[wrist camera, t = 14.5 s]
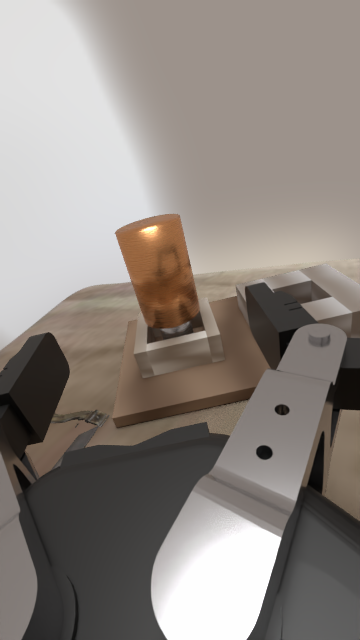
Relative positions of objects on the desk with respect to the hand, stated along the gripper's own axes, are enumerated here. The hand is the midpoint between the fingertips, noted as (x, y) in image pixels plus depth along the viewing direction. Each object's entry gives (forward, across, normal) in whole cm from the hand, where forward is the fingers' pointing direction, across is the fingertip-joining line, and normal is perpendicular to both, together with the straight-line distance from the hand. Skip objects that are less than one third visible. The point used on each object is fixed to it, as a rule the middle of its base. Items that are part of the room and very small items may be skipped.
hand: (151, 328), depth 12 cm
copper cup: (+12, 0, +9) cm, 15 cm away
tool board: (+12, -6, +10) cm, 16 cm away
